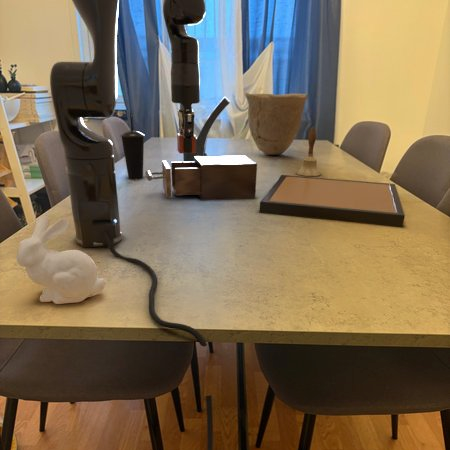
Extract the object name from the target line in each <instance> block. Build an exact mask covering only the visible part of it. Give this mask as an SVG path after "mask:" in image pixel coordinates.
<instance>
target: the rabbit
mask: <svg viewBox="0 0 450 450" xmlns="http://www.w3.org/2000/svg"><path fill="white" fill-rule="evenodd" d="M49 224H50V218H49V216H48V215H46V214H42V215H40V216H39V217H37V219H36V222H35V225H34V228H33V232H32V235H31V236H30V237H28V238H24V239H22V240H20V242H19V244H18V249H17V257H16V262H17V264H18V265H19V266H20V267H25V272H26V274H27V276H28V278H29V280H31V281H32V282H33V283H34V284H36V285H39V286H41V287H44V288H43V290H42V291H41V292H42V294H40V296H39V302H41V303H48V302H49V303H50V302H53V303H54V304H55V305H62V304H75V303H81V302H83V301H84V300H85V299H87V298H91V297H94V296H96V295H99V294H100V293H102V292H103V291H104V290H105V287H106V280H105V278H101V277H99V272H98V267H97V265H96V263H95V261H94V259H92V257H91V256H90V255H89V254H87V253H86V252H84V251H81V250H80V249H79V250H78V249H66V250H62V251H57V250H55V249H49V248H48V247H47V246H46V243H49V242H50V241H51V240H53V239H55V238H57V237H59V236H61V235H63V234H64V233H66V232H67V230H68V229H69V227H70V221H69V220H68V219H67V218H64V217H61V218H60V219H58V220H57V221H55V222H54V223H53V224H51V225H49Z"/></svg>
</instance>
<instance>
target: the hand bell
mask: <svg viewBox="0 0 450 450" xmlns="http://www.w3.org/2000/svg"><path fill="white" fill-rule="evenodd" d="M307 139H308V140H307V141H308V153H307V157H305V158H304V159H303V160H302V161H303V162H302V166H301V168H300V169H299V170H298V171H297V176H302V177H319V176H320V175H321V172H320V171H319V169H318V167H317V158H315V157H314V146H315V144H316V139H317V132H316V127H314V126H312V127H310V130H309V132H308V138H307Z"/></svg>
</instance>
